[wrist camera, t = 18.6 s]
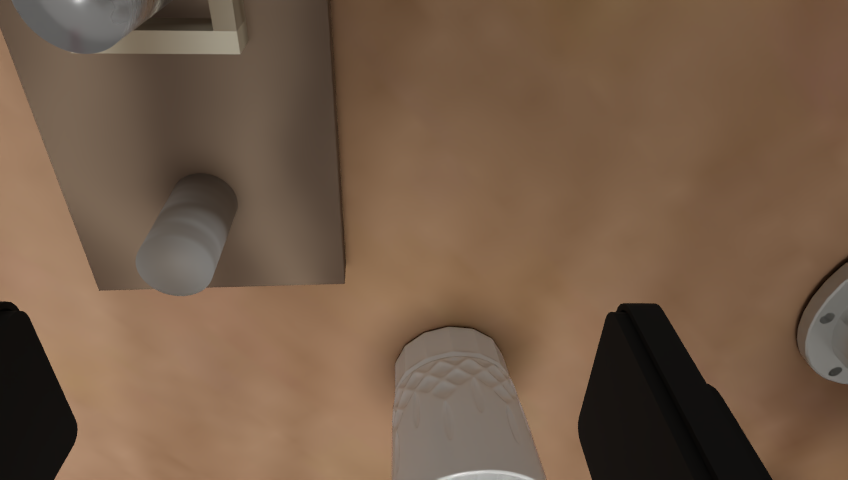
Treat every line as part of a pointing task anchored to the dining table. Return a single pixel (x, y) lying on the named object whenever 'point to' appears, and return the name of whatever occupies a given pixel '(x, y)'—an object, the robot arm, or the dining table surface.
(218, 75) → the pin board
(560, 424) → the dining table surface
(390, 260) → the dining table surface
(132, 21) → the peg
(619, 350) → the robot arm
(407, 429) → the white cup
